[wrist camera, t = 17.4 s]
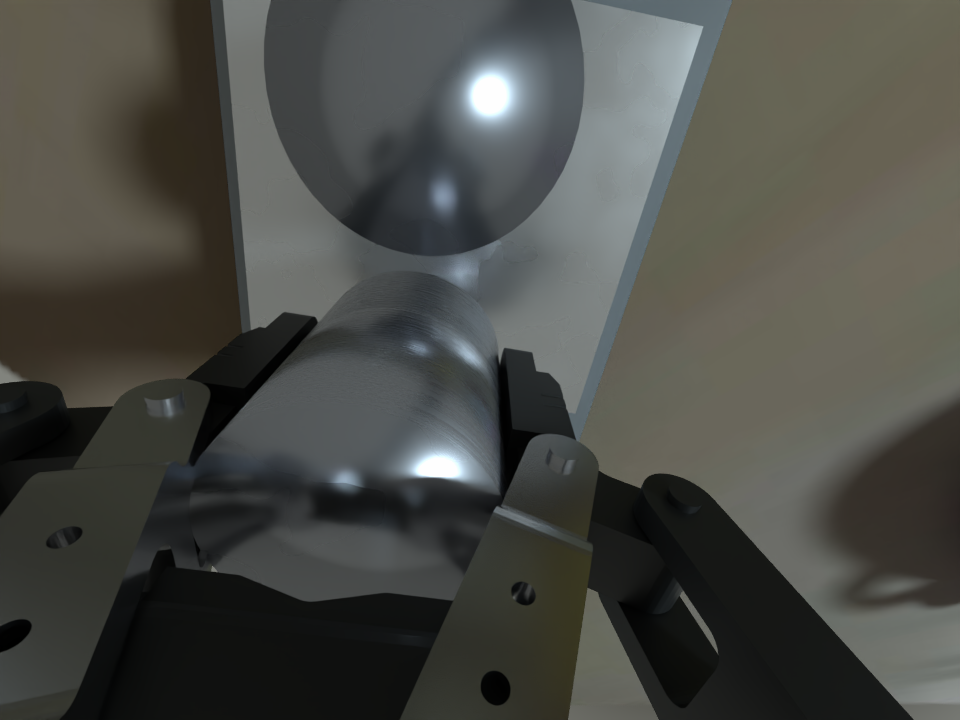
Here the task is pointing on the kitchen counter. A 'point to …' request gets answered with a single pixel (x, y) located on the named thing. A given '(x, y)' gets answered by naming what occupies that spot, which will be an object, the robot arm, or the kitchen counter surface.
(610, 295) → the pan
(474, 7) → the cylinder
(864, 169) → the kitchen counter surface
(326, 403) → the cylinder
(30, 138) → the kitchen counter surface
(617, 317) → the scale
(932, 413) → the kitchen counter surface
